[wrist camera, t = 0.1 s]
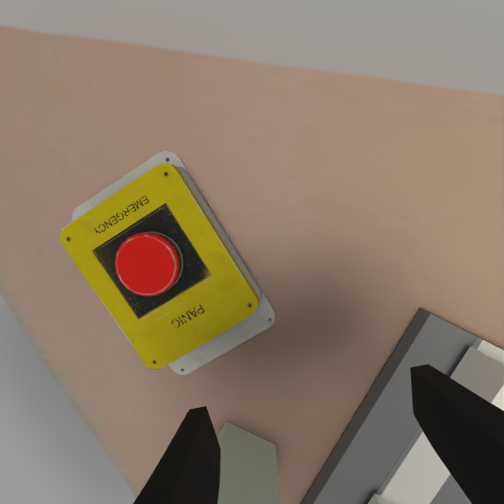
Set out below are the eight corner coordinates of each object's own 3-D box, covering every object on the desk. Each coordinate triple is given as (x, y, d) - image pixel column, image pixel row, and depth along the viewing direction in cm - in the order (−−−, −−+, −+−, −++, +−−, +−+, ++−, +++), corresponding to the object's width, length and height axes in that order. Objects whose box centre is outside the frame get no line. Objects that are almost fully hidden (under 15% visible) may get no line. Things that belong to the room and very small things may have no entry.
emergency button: (148, 124, 14) (286, 345, 16) (174, 146, 19) (280, 318, 20) (18, 213, 15) (160, 415, 17) (72, 214, 20) (180, 375, 21)
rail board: (416, 560, 22) (457, 649, 17) (299, 505, 22) (310, 582, 17) (548, 372, 20) (636, 418, 15) (420, 307, 19) (470, 335, 15)
